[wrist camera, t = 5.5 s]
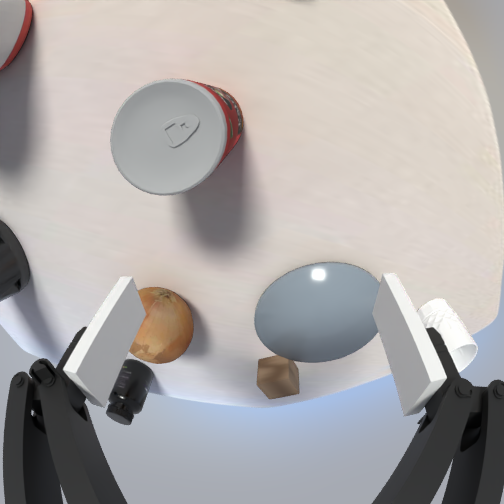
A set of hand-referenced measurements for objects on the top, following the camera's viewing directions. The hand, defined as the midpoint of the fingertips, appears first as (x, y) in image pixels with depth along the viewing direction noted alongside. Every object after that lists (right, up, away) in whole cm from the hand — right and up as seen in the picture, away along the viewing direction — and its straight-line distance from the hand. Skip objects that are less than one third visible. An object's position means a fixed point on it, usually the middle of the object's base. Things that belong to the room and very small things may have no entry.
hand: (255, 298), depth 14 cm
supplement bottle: (-22, -20, +33) cm, 45 cm away
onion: (-12, -4, +23) cm, 26 cm away
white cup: (+27, -7, +21) cm, 35 cm away
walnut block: (+4, -16, +28) cm, 33 cm away
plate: (+9, -6, +22) cm, 25 cm away
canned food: (-5, +15, +11) cm, 19 cm away
